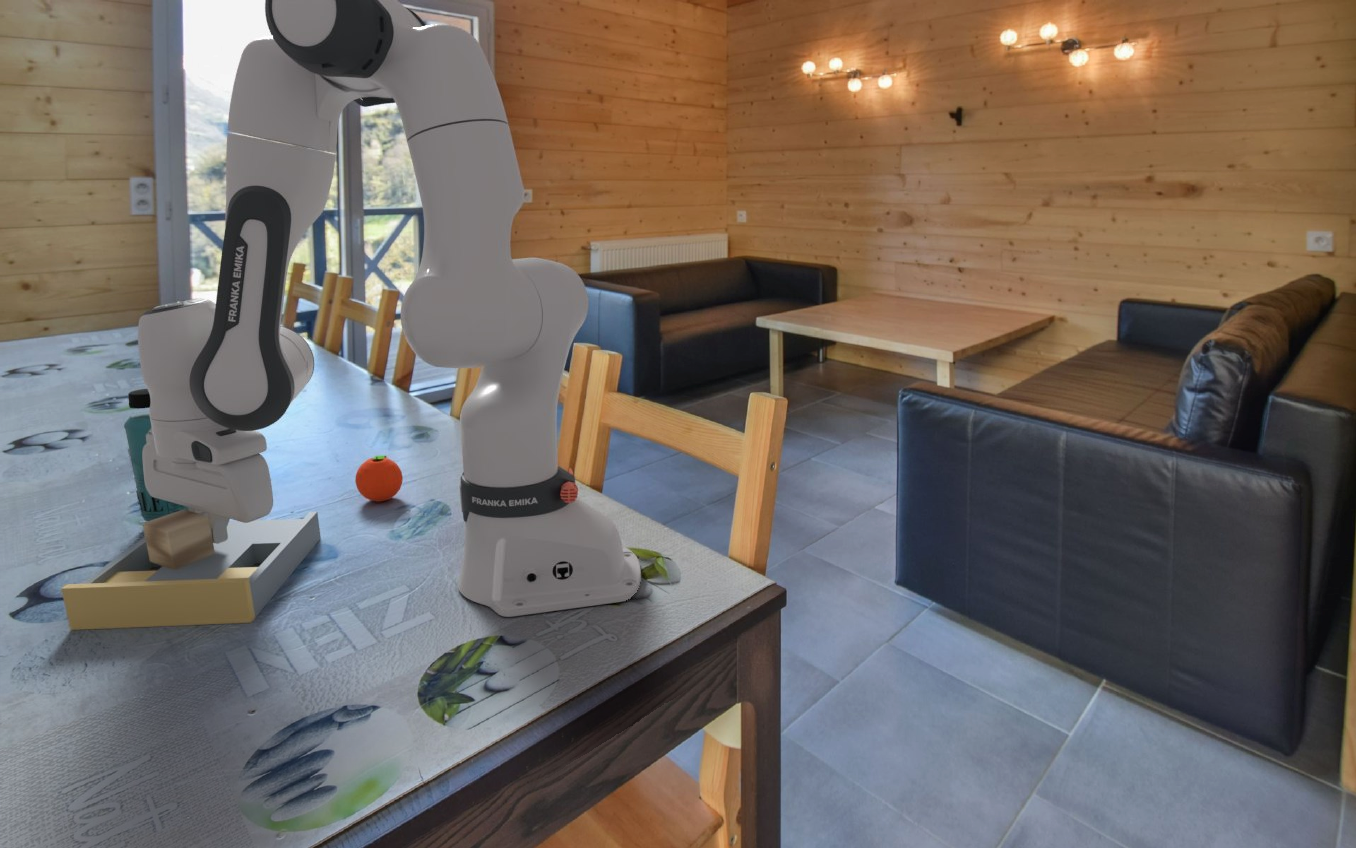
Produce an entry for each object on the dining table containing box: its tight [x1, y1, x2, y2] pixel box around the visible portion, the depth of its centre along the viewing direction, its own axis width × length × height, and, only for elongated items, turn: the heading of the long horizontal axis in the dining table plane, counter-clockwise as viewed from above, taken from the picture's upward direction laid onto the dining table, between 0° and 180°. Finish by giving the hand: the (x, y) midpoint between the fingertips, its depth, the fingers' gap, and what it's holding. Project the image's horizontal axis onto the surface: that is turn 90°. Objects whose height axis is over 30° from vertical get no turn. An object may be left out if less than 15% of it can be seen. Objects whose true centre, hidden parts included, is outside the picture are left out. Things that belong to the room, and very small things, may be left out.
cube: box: [142, 510, 215, 570], centre depth 98 cm, size 5×5×5 cm
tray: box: [61, 511, 322, 631], centre depth 99 cm, size 23×19×5 cm
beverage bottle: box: [123, 388, 189, 522], centre depth 113 cm, size 6×7×20 cm
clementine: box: [354, 455, 403, 502], centre depth 125 cm, size 8×7×7 cm
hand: (214, 540), depth 101 cm, fingers closed
